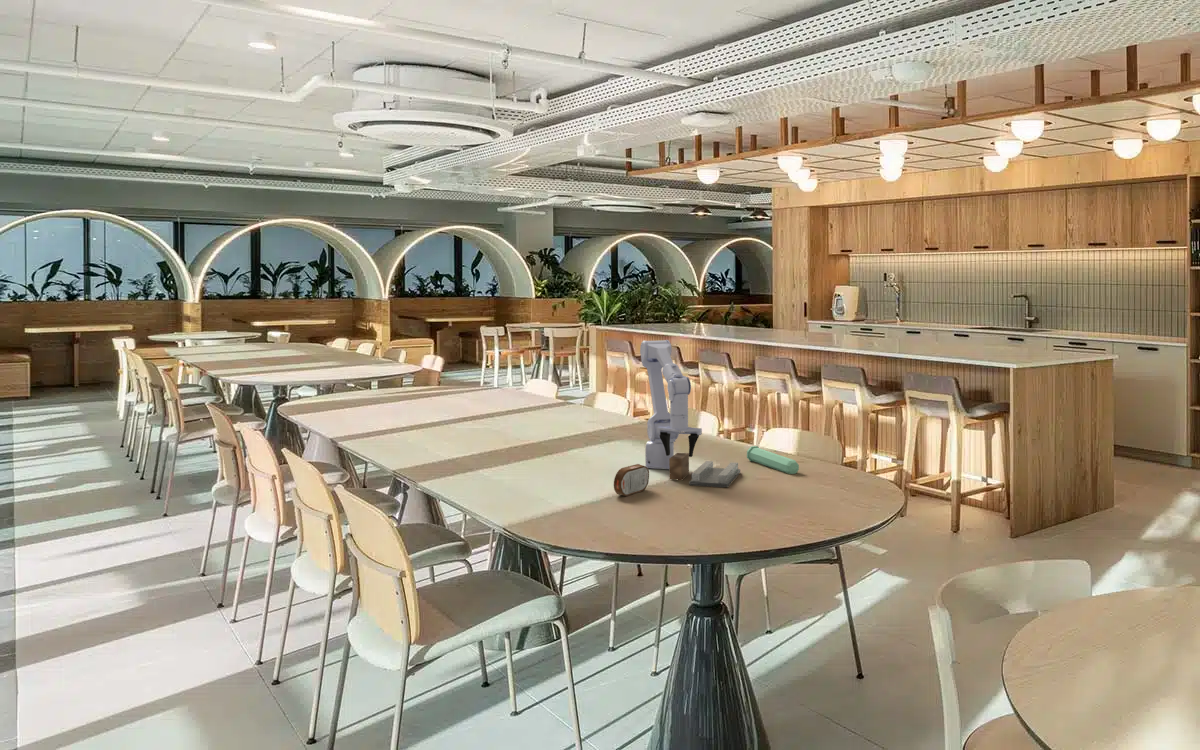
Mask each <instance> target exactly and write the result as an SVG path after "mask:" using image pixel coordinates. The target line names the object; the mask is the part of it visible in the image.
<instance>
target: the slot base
mask: <svg viewBox="0 0 1200 750" xmlns="http://www.w3.org/2000/svg"><path fill="white" fill-rule="evenodd" d="M739 473H740V474H741V469H740V468H739V462H734V461H733V462H731V461H730V462H729V463H728V465H727V466H726V467H725V468H722V467H721V468H720V467H714V461H713V460H705V461H704V462H703V463H701V465H699V466H698V467H697V468H696V469H695V470H694V471H693V472H692V473H691V479H690V480H689V482H688V484H689V486H693V485H694V487H695V486H696V487H697V486H698V487H710V488H711V486H712V487H713V488H724V487H727V488H728V487H730V486H731V485H732V483H733V482H734V481H735V480H736V478H737V477H738V476H739V475H740V474H739ZM734 479H735V480H734ZM733 480H734V481H733ZM732 481H733V482H732ZM731 482H732V483H731Z"/></svg>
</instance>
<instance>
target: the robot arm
mask: <svg viewBox="0 0 1200 750" xmlns="http://www.w3.org/2000/svg"><path fill="white" fill-rule="evenodd" d="M639 352H640V353H639V354H640V361H641V365H642V366H643V367H644V368H645V369H646V371H647V376H648V377H647V378H648V382H649V389H650V396H651V402H652V409H653V410H652V411H653V414H652V415H651V416H650V417H649V418H648V420H647V429H646V430H647V432H646V433H647V437H648V439H649V440H647V442H646V444H645V453H644V454H645V455H644V456H645V466H646V467H647V468H648V469H656V470H657V469H658V470H669V458H671V457H672V456H674V455H675V451H674V449H675V446H674V445H675V442H676V441H677V439H678V438H679V436H680V435H688V437H687V438H688V447H689V448H688V453H689V458H692V457H694V456H693V454H694V449H695V447H696V443H697V441H698V439H699V437H700V436H701V435H702V434H703V429H702V427H701V428H699V427H691V426H689V395H690V394H691V390H692V383H691V380H690V378H689V376H686V375H684V374H683V373H682V371H681V369H680V367H679V365H678V364H677V363H674V362H673V359H672V357H671V355H672V344H671V342H670V340H669V339H665V340H642V342H641V344H640V350H639ZM663 377H664V378H663ZM664 379H665V382H666V383H667V394H668V401H669V402H670V403H669V404H670V405H669V406H670V407H669V408H670V409H669V410H670V411H669V412H668V404H667V398H666V396H667V395H666V392H665V383H664Z"/></svg>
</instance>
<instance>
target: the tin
mask: <svg viewBox="0 0 1200 750" xmlns="http://www.w3.org/2000/svg"><path fill="white" fill-rule="evenodd" d="M649 480H650V470H649V468H647V467H646V465H641V464H640V463H636V464H633V465H628V466H624V467H622V468H620V469H619V470H618V471H616V473H615V475H614V479H613V490H614V492H615V493H616V494H617V495H618V496H623V497H625V496H626V497H629V496H631V495H635V494H638V493H641V492H643V491H645V490H646V488H647V486H648V484H649Z"/></svg>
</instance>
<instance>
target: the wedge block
mask: <svg viewBox="0 0 1200 750" xmlns="http://www.w3.org/2000/svg"><path fill="white" fill-rule="evenodd" d="M668 470H669V471H668V472H669V473H668V474H669V480H670V479H678V480H677V481H683V480H684V479H685V478H686V477H687V476H688V475H690V457H689V452H688V453H687V452H676V453H674V456H672V457H671V458H669V469H668ZM686 475H687V476H686ZM685 476H686V477H685ZM684 477H685V478H684ZM683 478H684V479H683ZM682 479H683V480H682Z"/></svg>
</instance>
